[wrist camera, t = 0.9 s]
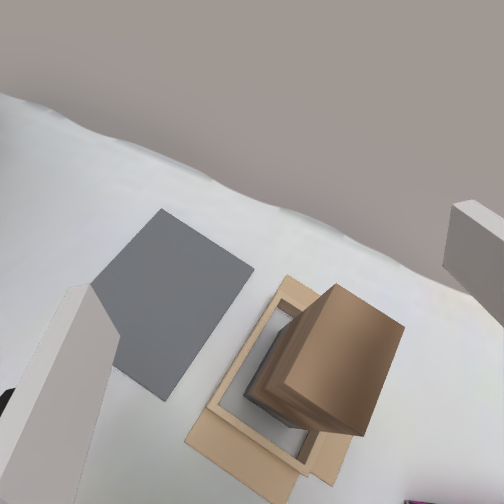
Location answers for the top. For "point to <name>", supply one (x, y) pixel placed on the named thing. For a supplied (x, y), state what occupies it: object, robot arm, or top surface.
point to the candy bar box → (414, 503)
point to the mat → (167, 299)
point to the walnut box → (328, 365)
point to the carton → (254, 444)
